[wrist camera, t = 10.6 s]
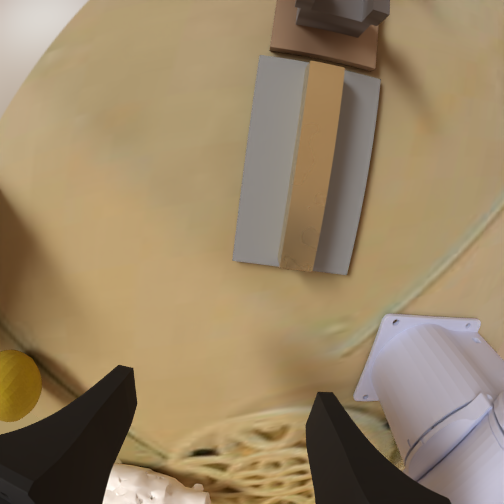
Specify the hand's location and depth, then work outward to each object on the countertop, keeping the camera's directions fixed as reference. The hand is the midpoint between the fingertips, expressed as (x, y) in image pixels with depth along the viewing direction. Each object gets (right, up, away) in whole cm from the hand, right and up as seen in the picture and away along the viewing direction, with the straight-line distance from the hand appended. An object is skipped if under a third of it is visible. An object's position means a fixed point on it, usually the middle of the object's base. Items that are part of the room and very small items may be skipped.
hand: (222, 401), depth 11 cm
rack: (+6, +23, +2) cm, 24 cm away
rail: (+4, +10, +6) cm, 13 cm away
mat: (+4, +11, +6) cm, 13 cm away
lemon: (-19, -4, +12) cm, 23 cm away
